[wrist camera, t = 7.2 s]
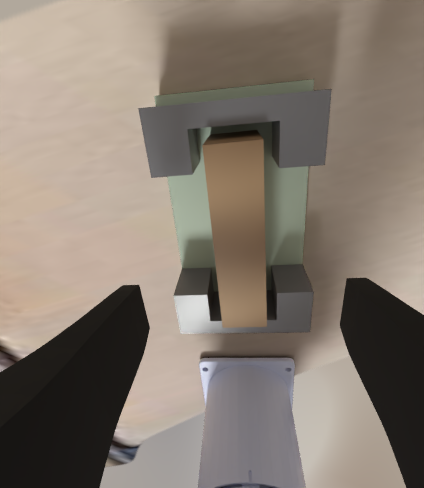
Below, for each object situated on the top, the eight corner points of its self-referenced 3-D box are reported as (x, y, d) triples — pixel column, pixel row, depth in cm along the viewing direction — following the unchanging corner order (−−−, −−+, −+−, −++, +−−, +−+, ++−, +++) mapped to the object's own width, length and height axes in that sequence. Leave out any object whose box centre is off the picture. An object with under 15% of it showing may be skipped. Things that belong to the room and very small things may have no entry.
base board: (296, 297, 21) (299, 306, 20) (190, 300, 22) (188, 308, 21) (309, 80, 15) (314, 79, 14) (158, 96, 15) (154, 96, 15)
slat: (261, 285, 19) (267, 326, 16) (225, 286, 20) (222, 327, 16) (256, 129, 15) (263, 139, 11) (209, 134, 15) (202, 145, 12)
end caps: (300, 300, 20) (309, 332, 17) (187, 303, 21) (180, 333, 18) (313, 90, 14) (331, 88, 11) (155, 106, 15) (138, 108, 12)
